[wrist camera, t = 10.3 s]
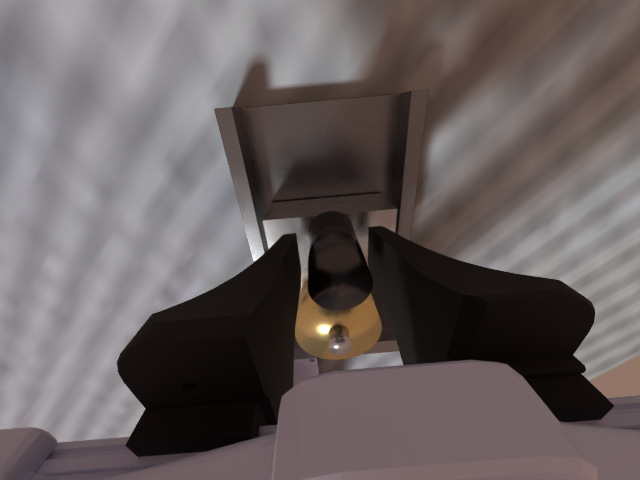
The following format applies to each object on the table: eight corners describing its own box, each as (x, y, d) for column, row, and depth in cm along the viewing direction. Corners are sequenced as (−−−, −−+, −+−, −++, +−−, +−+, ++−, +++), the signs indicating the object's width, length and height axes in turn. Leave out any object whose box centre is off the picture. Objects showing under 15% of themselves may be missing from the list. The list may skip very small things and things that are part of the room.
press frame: (388, 309, 21) (407, 354, 17) (278, 318, 21) (271, 365, 17) (407, 94, 13) (451, 84, 9) (231, 110, 13) (196, 107, 9)
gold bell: (364, 299, 19) (386, 370, 13) (304, 306, 19) (301, 380, 14) (363, 246, 16) (387, 308, 11) (293, 255, 16) (285, 320, 11)
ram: (379, 248, 16) (424, 334, 10) (280, 256, 16) (261, 347, 10) (382, 189, 14) (441, 250, 8) (270, 199, 14) (236, 267, 8)
